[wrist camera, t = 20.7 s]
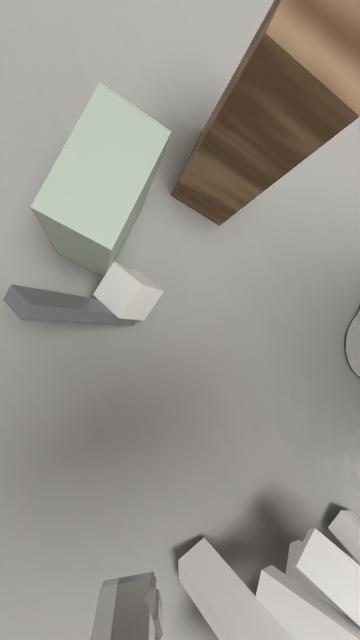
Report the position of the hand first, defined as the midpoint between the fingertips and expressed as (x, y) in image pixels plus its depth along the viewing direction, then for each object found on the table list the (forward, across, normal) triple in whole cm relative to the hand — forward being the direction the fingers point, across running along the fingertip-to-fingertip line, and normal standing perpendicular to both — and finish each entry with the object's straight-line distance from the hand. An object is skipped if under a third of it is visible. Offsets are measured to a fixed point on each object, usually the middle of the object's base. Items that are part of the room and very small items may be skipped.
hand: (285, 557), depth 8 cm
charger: (+25, +12, -5) cm, 28 cm away
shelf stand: (+41, -8, -20) cm, 47 cm away
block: (+36, +10, -15) cm, 40 cm away
